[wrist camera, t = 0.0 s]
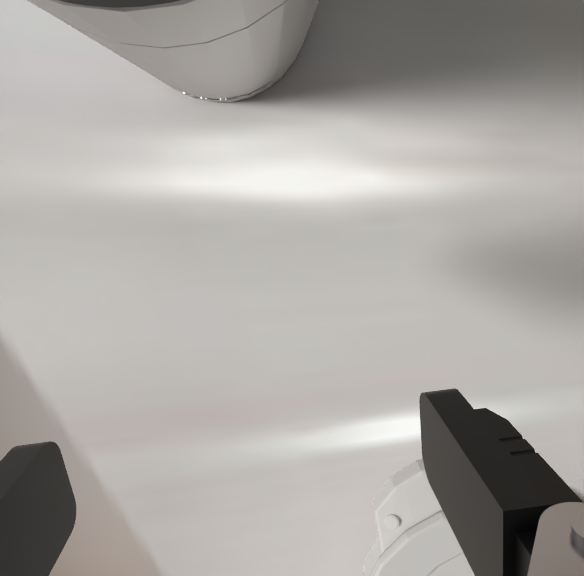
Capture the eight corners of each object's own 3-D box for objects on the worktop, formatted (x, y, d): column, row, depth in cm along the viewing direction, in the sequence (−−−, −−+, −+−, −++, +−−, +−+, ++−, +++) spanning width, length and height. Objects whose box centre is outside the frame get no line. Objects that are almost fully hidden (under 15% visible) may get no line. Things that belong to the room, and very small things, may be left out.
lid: (533, 407, 31) (561, 434, 28) (602, 602, 37) (630, 641, 34) (301, 505, 32) (305, 540, 29) (402, 677, 38) (413, 721, 35)
